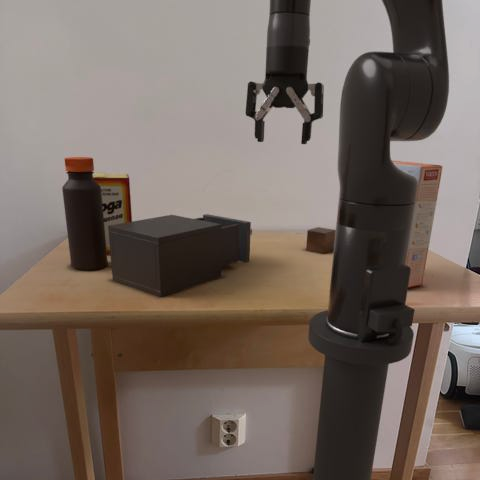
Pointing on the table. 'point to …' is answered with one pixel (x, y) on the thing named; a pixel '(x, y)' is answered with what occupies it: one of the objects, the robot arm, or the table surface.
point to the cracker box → (421, 215)
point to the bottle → (84, 215)
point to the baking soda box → (114, 200)
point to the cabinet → (165, 253)
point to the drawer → (232, 238)
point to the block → (320, 240)
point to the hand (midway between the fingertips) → (282, 142)
